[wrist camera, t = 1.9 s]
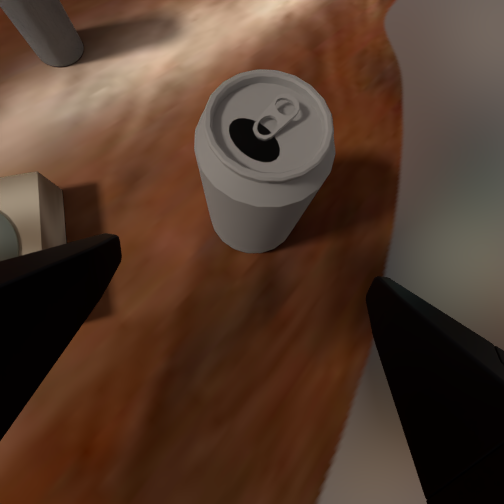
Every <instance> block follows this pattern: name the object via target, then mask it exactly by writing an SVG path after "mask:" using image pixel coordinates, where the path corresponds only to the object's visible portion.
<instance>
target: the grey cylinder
mask: <svg viewBox="0 0 504 504" xmlns="http://www.w3.org/2000/svg"><path fill="white" fill-rule="evenodd" d="M0 7H1V8H2V9H3V11H4V12H5V13H6V15H7V16H8V17H9V19H10V20H11V21H12V23H13V24H14V25H15V27H16V28H17V29H18V31H19V32H20V33H21V35H22V36H23V37H24V38H25V40H26V41H27V42H28V44H29V45H30V46H31V48H32V49H33V50H34V52H35V53H36V54H37V56H38V57H39V58H40V59H41V60H42V61H43V62H44V63H46V64H48V65H51V66H56V67H62V66H67V65H70V64H72V63H74V62H76V61H77V60H78V59H79V58H80V57H81V55H82V53H83V49H84V47H83V43H82V41H81V39H80V37H79V35H78V33H77V32H76V30H75V28H74V26H73V24H72V23H71V21H70V19H69V17H68V15H67V13H66V12H65V10H64V8H63V6H62V4H61V3H60V1H59V0H0Z"/></svg>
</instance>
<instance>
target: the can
mask: <svg viewBox="0 0 504 504" xmlns="http://www.w3.org/2000/svg"><path fill="white" fill-rule="evenodd" d="M333 134H334V129H333V120H332V114H331V112H330V110H329V108H328V106H327V104H326V102H325V100H324V99H323V98H322V97H321V96H320V94H319V93H318V92H317V91H316V90H315V89H314V88H313V87H312V86H311V85H309V84H308V83H306V82H304V81H303V80H301V79H299V78H298V77H296V76H294V75H291V74H287V73H284V72H281V71H277V70H253V71H249V72H244V73H239V74H237V75H236V76H234V77H232V78H230V79H228V80H226V81H224V82H223V83H222V84H221V85H220V86H219V87H218V88H217V89H216V90H215V91H214V92H213V93H212V94H211V96H210V98H209V100H208V103H207V105H206V107H205V110H204V112H203V113H202V116H201V118H200V120H199V123H198V125H197V127H196V130H195V147H194V150H195V154H196V159H197V163H198V167H199V171H200V176H201V180H202V184H203V188H204V192H205V197H206V201H207V205H208V209H209V213H210V218H211V221H212V224H213V227H214V230H215V232H216V233H217V234H218V236H219V237H220V238H221V240H222V241H223V242H225V243H226V244H228V245H229V246H230V247H232V248H233V249H236V250H239V251H242V252H245V253H263V252H266V251H269V250H272V249H274V248H276V247H277V246H278V245H280V244H281V243H283V242H284V241H285V240H286V238H287V237H288V235H289V234H290V232H291V231H292V230H293V228H294V227H295V225H296V223H297V222H298V220H299V219H300V217H301V216H302V214H303V213H304V211H305V210H306V208H307V207H308V205H309V204H310V202H311V201H312V199H313V198H314V196H315V195H316V193H317V192H318V190H319V189H320V187H321V186H322V184H323V183H324V181H325V180H326V178H327V177H328V175H329V174H330V172H331V169H332V165H333V161H334V157H335V146H334V137H333Z"/></svg>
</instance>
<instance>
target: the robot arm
mask: <svg viewBox="0 0 504 504" xmlns="http://www.w3.org/2000/svg"><path fill="white" fill-rule="evenodd" d="M121 258H122V255H121V247H120V240H119V237H118V236H117V235H114V234H107V233H104V234H100V235H96V236H93V237H89V238H85V239H81V240H78V241H74V242H70V243H66V244H62V245H59V246H55V247H51V248H47V249H44V250H40V251H36V252H32V253H29V254H25V255H21V256H17V257H13V258H10V259H6V260H2V261H0V441H1V439H2V438H3V436H4V435H5V434H6V432H7V431H8V429H9V428H10V427H11V425H12V424H13V422H14V421H15V419H16V418H17V417H18V415H19V414H20V412H21V411H22V409H23V408H24V407H25V405H26V404H27V402H28V401H29V400H30V398H31V397H32V395H33V394H34V392H35V391H36V390H37V388H38V387H39V385H40V384H41V383H42V381H43V380H44V378H45V377H46V375H47V374H48V373H49V371H50V370H51V368H52V367H53V365H54V364H55V363H56V361H57V360H58V358H59V357H60V356H61V354H62V353H63V351H64V350H65V348H66V347H67V346H68V344H69V343H70V341H71V340H72V339H73V337H74V336H75V334H76V333H77V331H78V330H79V329H80V327H81V326H82V324H83V323H84V321H85V320H86V319H87V317H88V316H89V314H90V313H91V312H92V310H93V309H94V307H95V306H96V304H97V303H98V302H99V300H100V299H101V297H102V295H103V294H104V292H105V290H106V288H107V286H108V285H109V283H110V281H111V279H112V277H113V275H114V273H115V272H116V270H117V268H118V266H119V264H120V262H121ZM366 304H367V309H368V314H369V318H370V323H371V328H372V333H373V337H374V341H375V344H376V347H377V350H378V353H379V356H380V360H381V363H382V366H383V369H384V372H385V375H386V378H387V381H388V384H389V387H390V390H391V394H392V396H393V400H394V402H395V406H396V409H397V412H398V415H399V418H400V421H401V424H402V427H403V431H404V433H405V437H406V440H407V443H408V446H409V449H410V452H411V455H412V458H413V461H414V464H415V467H416V470H417V474H418V477H419V480H420V483H421V486H422V489H423V492H424V495H425V498H426V499H427V501H426V502H427V504H504V351H503V350H502V349H500V348H498V347H497V346H494V345H493V344H492V343H490V342H489V341H487V340H486V339H484V338H483V337H481V336H480V335H478V334H476V333H475V332H473V331H471V330H470V329H469V328H467V327H465V326H464V325H462V324H461V323H459V322H457V321H456V320H454V319H453V318H451V317H450V316H448V315H446V314H445V313H443V312H442V311H440V310H439V309H437V308H435V307H434V306H432V305H431V304H429V303H427V302H426V301H424V300H423V299H421V298H420V297H418V296H417V295H415V294H413V293H412V292H410V291H409V290H407V289H406V288H404V287H402V286H401V285H399V284H398V283H396V282H395V281H393V280H391V279H390V278H387V277H381V276H377V277H375V278H374V280H373V282H372V284H371V286H370V288H369V290H368V292H367V295H366Z"/></svg>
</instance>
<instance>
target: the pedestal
mask: <svg viewBox="0 0 504 504" xmlns="http://www.w3.org/2000/svg"><path fill="white" fill-rule="evenodd" d="M62 244H66V230H65V218H64V206H63V193H62V189H60V188H59V187H58V186H56V185H55V184H54V183H52V182H51V181H50V180H48V179H47V178H46V177H44V176H43V175H41V174H40V173H39V172H31V173H24V174H18V175H12V176H6V177H0V261H2V260H6V259H10V258H13V257H17V256H21V255H25V254H29V253H32V252H36V251H40V250H44V249H47V248H51V247H55V246H59V245H62Z"/></svg>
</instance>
